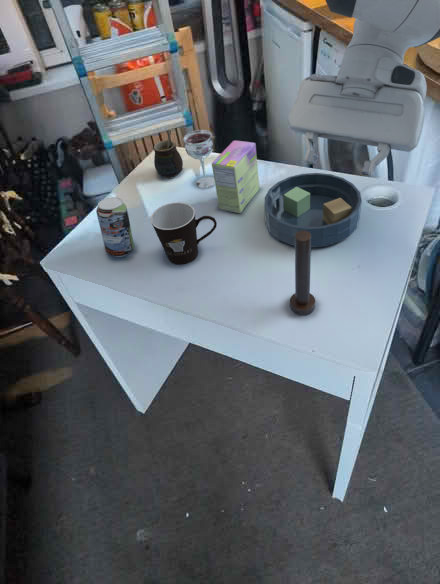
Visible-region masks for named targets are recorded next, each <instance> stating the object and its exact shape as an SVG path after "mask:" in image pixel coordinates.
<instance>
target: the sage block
mask: <svg viewBox="0 0 440 584" xmlns="http://www.w3.org/2000/svg"><path fill="white" fill-rule="evenodd" d="M283 197H284V210H285V211H287V212H288V213H290V214H292V215H294V216H296V217H298V216H300V215H301V214H303V213H304V212H306V211H307V210H309V209H310V193H309V192H307V191H305V190H303V189H300V188H298V187H295V188H293V189H292V190H290V191H289V192H287V193H286V194H284V195H283Z"/></svg>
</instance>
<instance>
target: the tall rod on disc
mask: <svg viewBox="0 0 440 584" xmlns="http://www.w3.org/2000/svg"><path fill="white" fill-rule="evenodd" d="M311 257H312V247H311V234H310V233H309V232H308V231H299V232H297V233H296V234H295V246H294V283H295V284H294V285H295V287H294V288H295V289H294V290H295V291H294V293H293V294H292V295H291V296H290V297H289V309H290V311H291V312H292V313H293V314H294V315H297V316H300V317H301V316H309V315H311V314H312V313H313V312H315V309H316V298H315V296H314V295H313V294H312V293H311V260H312V259H311Z"/></svg>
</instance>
